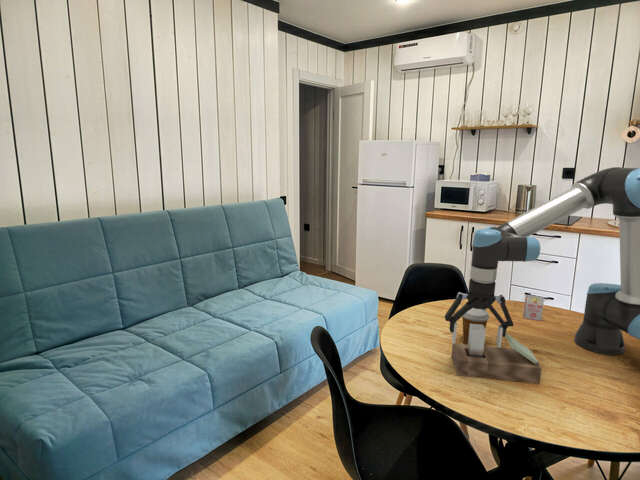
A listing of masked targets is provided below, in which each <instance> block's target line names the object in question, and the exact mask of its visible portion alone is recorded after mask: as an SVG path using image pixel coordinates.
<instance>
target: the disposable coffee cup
mask: <svg viewBox="0 0 640 480" xmlns="http://www.w3.org/2000/svg"><path fill="white" fill-rule="evenodd" d="M461 318H462V339H463V340H462V342H463V344H468V338H469V328H470V324H480V325H483V326H484V328H485V329H486V328H487V324H488V320H489V319H490V314H489V312H488V311H487V309H486V310H483V309H475V308H472V309H471V310H469V311H467V312H466V313H465V314H464V315H463V316H462V317H461Z"/></svg>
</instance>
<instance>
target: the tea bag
mask: <svg viewBox="0 0 640 480" xmlns="http://www.w3.org/2000/svg"><path fill="white" fill-rule="evenodd" d="M544 301H545V297H544V296H538V295H531V294H525V297H524V304H523V312H522V319H524V320H530V321H536V322H542V318H543V310H544Z"/></svg>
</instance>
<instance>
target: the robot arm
mask: <svg viewBox="0 0 640 480" xmlns="http://www.w3.org/2000/svg"><path fill="white" fill-rule="evenodd" d="M604 204H605V205H606V204H610V205H612V215H613V216H614V217H615V218H617V219H618V223H619V225H618V227H619V228H618V229H619V264H620V269H619V270H620V272H619V273H620V284H617V283H608V282H607V283H604V282H596V283H595V282H594V283H591V284H590V285H589V286H588V289H587V293H586V300H585V307H584V313H583V320H582V322H581V324H580V325H579V327H578V329H577V331H576V332H575V334H574V339H573V341H574V342H575V344H576V345H578V346H579V347H581V348H583V349H585V350H588V351H590V352H593V353H597V354H601V355H606V354H607V356H619V355H618V354H620V355H622V354H624V352H625V347H626V346H625V345H626V343H625V339H624V336H623V335H624V334H623V332H624V333H626V334H628V335H629V336H630V337H633V338H636V339H638V340H640V168H639V167H621V166H619V167H610V168H605V169H602V170H599V171H597V172H595V173H592V174H589V175H587V176H586V177H584V178H582V179H580V180H578V181H576V182H574V183H572V184H571V187H570V188H569V189H568V190H565V191H564V192H561V193H560V194H558V195H556V196H554V197H552V198H551V199H549V200H547V201H545V202H542V203H541V204H539V205H537V206H535V207H533V208H532V209H530V210H528V211H525V212H523V213H522V214H520V215H518V216H516V217H514V218H512V219H511V220H509V221H506V222H505V223H503V224H501V225H499V226H488V227H485V228H479V229H476V231H475V232H474V235H473V241H472V251H471V262H470V263H471V264H470V273H469V277H470V278H469V279H468V280H469V281H468V282H469V283H468V291H467V293H463V292H461V291H458V292H457V294H456V298H455V299H454V301H453V303H452V304H451V305H450V307H449V308H448V310H447V311H446V313H445V315H443V316H444V317H443V318H444V320H445V321H446V322H449V329H448V330H449V332H450V333H452V335H451V342H452V344H453V343H457V341H456V340H457V332H458V331H457V329H458V324H457V323H458V320H460V319H461V318H462V316H463V315H464V314H465V313H466V312H467V311H469V310H471V309H472V308H475V309H483V310H486V311H487V309H488V310H489V311H490V312H491V314H493V315H494V317H495V318H496V320H497V321H498V323H500V324H497V325H498V326H497V333H496V347H498V348H501V347H502V343H503V342H502V338H506V337H505V336H506V334H507V329H508V328H509V327H514V322H513V320H512V317H511V315H510V313H509V310H508V307H507V305H506V298H505V296H504V295H503V294H500V295H495V292H496V280H497V274H498V265H499V262H522V263H525V262H534V261H536V260H537V259H538V258H539V257H540V254H541V244H540V241H539V240H538V238H536V236H532V235H534V234H535V233H538V232H540V231H542V230H544V229H546V228H548V227H550V226H552V225H553V224H555V223H557V222H559V221H561V220H564V219H565V218H567V217H569V216H571V215H573V214H575V213H577V212H580V210H582V209H587V210H589V209H592V208H594V207H595V206H598V205H604ZM465 299H466V300H467V302H466V303H464V305H463V306H462V307H461V308H460V309H458V307H459V306H460V305H461V303H462V301H465ZM495 302H497V303H498V304H499V306H500V308H501V310H502V312H503V315H504V317H505V320H506V321H504V319H503V317H501V315H500V314H499V313H498V312H497V310H496V308H495V307H494V306H493V304H494V303H495ZM457 309H458V310H457Z"/></svg>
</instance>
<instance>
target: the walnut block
mask: <svg viewBox="0 0 640 480" xmlns="http://www.w3.org/2000/svg"><path fill="white" fill-rule="evenodd" d="M467 348H468V344H466V343H460V342H459V343H457V342H455V343H453V342H452V348H451V360H452V364H453V367H454V371H455V375H456V376H462V377H463V376H464V377H472V378H473V377H474V378H483V379H491V380H492V379H493V380H501V381H511V382H519V383H530V384H538V385H540V384H541V377H542V371H543V370H542V367H541V365H540V364H539V365H536V364H535V363H533V362H532V361H530V360H529V359H528V358H526V357H525V356H523V355H522V354H521V353H519V352H518V351H516V350H515V349H513V348H512V347H502V346H501V348H498V346H490V345H489V346H488V345H484V350H483V358H479V357H469V356H467Z"/></svg>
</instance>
